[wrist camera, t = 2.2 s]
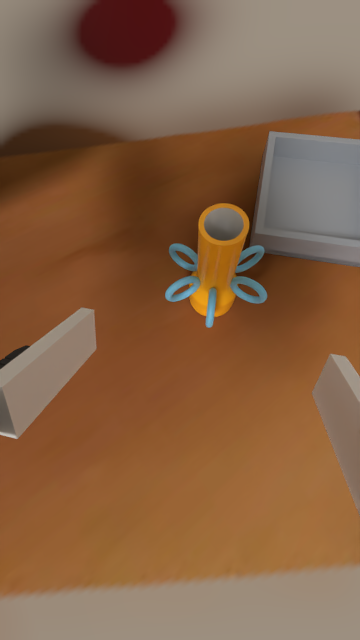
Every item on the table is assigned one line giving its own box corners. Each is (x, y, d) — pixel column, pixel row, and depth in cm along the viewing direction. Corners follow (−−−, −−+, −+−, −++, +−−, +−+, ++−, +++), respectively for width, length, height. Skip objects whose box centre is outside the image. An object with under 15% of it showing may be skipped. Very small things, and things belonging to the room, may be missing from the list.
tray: (248, 250, 36) (254, 233, 32) (262, 156, 41) (269, 131, 37) (366, 268, 34) (388, 251, 30) (366, 167, 39) (384, 142, 36)
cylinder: (232, 249, 36) (256, 151, 22) (270, 309, 33) (328, 242, 19) (155, 284, 35) (128, 206, 21) (187, 350, 32) (182, 311, 18)
